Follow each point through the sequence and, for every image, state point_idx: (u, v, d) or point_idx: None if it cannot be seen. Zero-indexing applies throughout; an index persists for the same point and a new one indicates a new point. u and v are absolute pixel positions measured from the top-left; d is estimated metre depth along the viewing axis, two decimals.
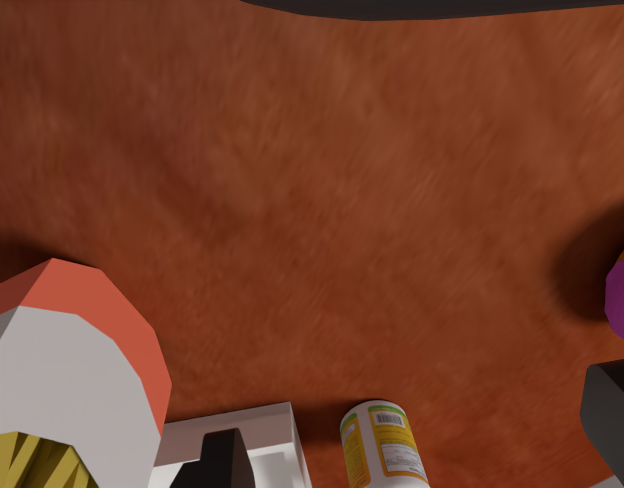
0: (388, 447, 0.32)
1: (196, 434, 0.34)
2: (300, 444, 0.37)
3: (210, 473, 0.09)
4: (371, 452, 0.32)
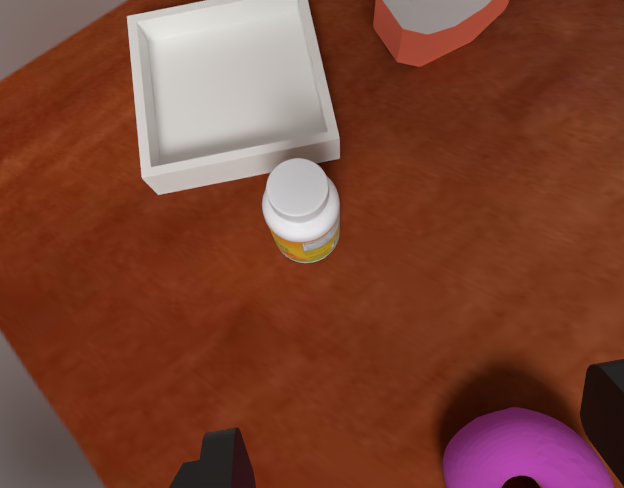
0: None
1: None
2: None
3: (210, 473, 0.09)
4: None
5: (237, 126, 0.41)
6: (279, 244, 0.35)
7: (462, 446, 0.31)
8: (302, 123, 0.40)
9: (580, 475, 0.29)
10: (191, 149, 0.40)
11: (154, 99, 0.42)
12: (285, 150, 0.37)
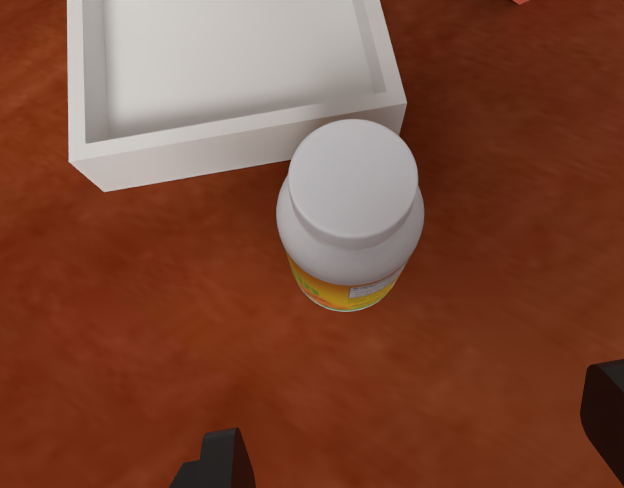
0: None
1: None
2: None
3: (210, 473, 0.09)
4: None
5: (234, 86, 0.26)
6: (303, 283, 0.20)
7: None
8: (338, 83, 0.25)
9: None
10: (159, 120, 0.25)
11: (105, 43, 0.27)
12: (314, 121, 0.22)
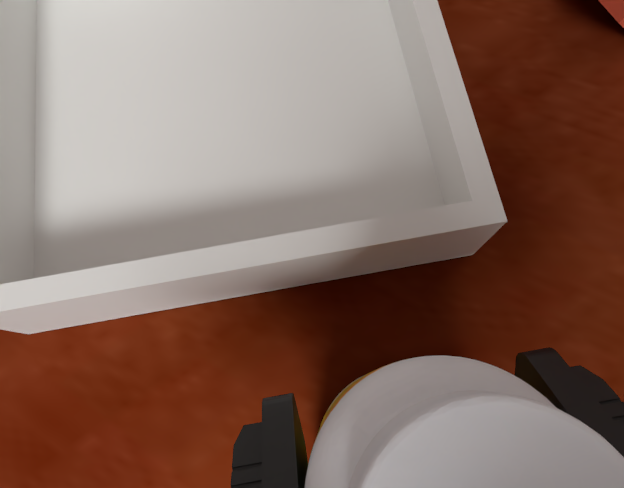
0: None
1: None
2: (338, 277, 0.16)
3: (273, 432, 0.10)
4: None
5: (226, 170, 0.17)
6: None
7: None
8: (383, 167, 0.17)
9: None
10: (111, 225, 0.17)
11: (37, 102, 0.18)
12: (354, 249, 0.13)
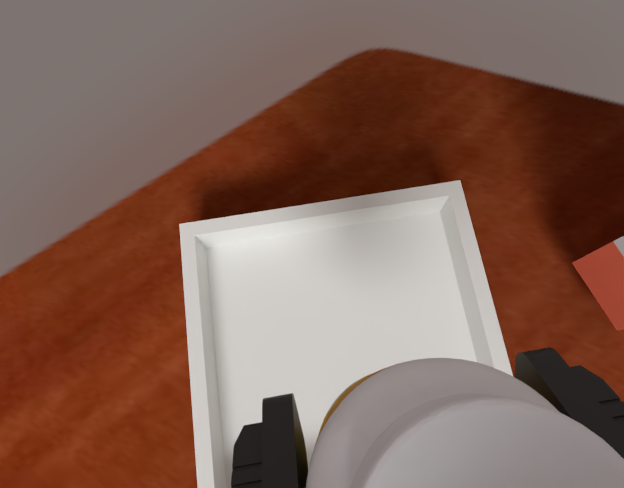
0: None
1: None
2: None
3: (274, 432, 0.10)
4: None
5: None
6: None
7: None
8: None
9: None
10: None
11: (216, 354, 0.27)
12: None
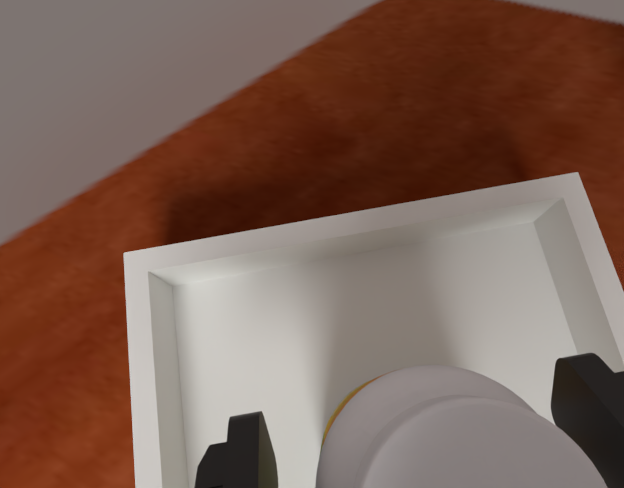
0: None
1: None
2: None
3: (238, 453, 0.09)
4: None
5: None
6: None
7: None
8: None
9: None
10: None
11: (188, 462, 0.16)
12: None
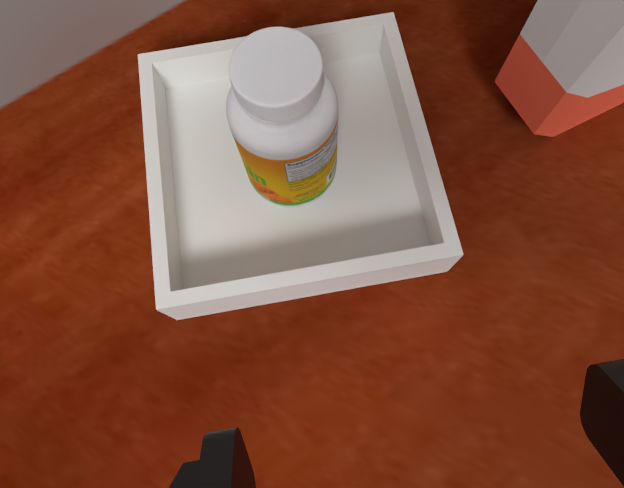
0: None
1: None
2: (366, 285, 0.27)
3: (210, 473, 0.09)
4: None
5: (296, 220, 0.28)
6: (253, 175, 0.25)
7: None
8: (393, 218, 0.28)
9: None
10: (228, 253, 0.27)
11: (174, 174, 0.29)
12: (379, 270, 0.24)
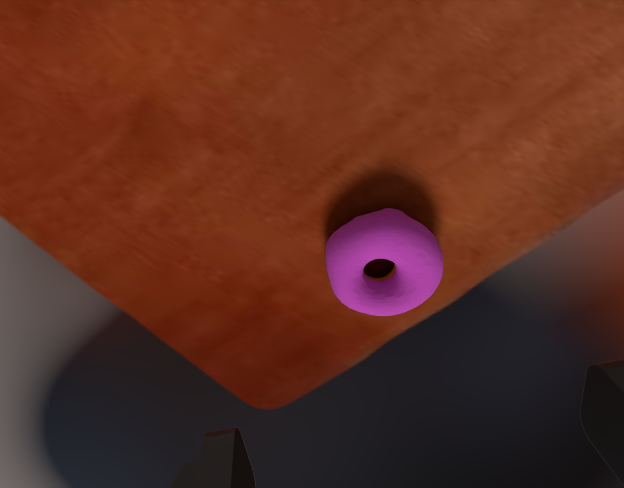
0: None
1: None
2: None
3: (210, 473, 0.09)
4: None
5: None
6: None
7: (341, 241, 0.39)
8: None
9: (421, 262, 0.39)
10: None
11: None
12: None
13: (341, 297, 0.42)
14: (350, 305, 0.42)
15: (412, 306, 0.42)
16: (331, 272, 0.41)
